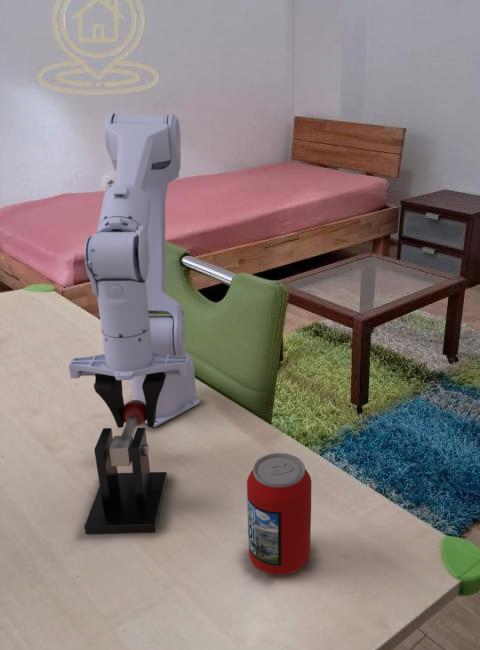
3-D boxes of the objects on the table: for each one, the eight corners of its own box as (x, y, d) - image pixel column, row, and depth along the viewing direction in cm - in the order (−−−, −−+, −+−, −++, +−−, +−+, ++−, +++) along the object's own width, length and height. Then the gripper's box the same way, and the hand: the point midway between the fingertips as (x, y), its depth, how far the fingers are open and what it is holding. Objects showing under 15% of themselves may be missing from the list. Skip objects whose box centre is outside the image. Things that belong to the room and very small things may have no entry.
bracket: (105, 480, 82) (96, 415, 78) (167, 479, 82) (161, 414, 78) (85, 534, 73) (73, 464, 69) (155, 532, 73) (148, 462, 69)
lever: (126, 417, 84) (123, 395, 83) (152, 416, 84) (149, 394, 83) (106, 470, 74) (103, 445, 72) (135, 469, 74) (133, 445, 72)
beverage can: (240, 545, 72) (237, 457, 67) (295, 529, 74) (296, 443, 69) (261, 588, 66) (259, 495, 61) (320, 569, 68) (322, 478, 63)
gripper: (55, 342, 73) (71, 441, 79) (181, 341, 74) (189, 439, 79) (72, 319, 80) (86, 411, 85) (188, 318, 80) (194, 410, 86)
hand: (136, 423), depth 83 cm, fingers closed on lever, 3 cm apart
